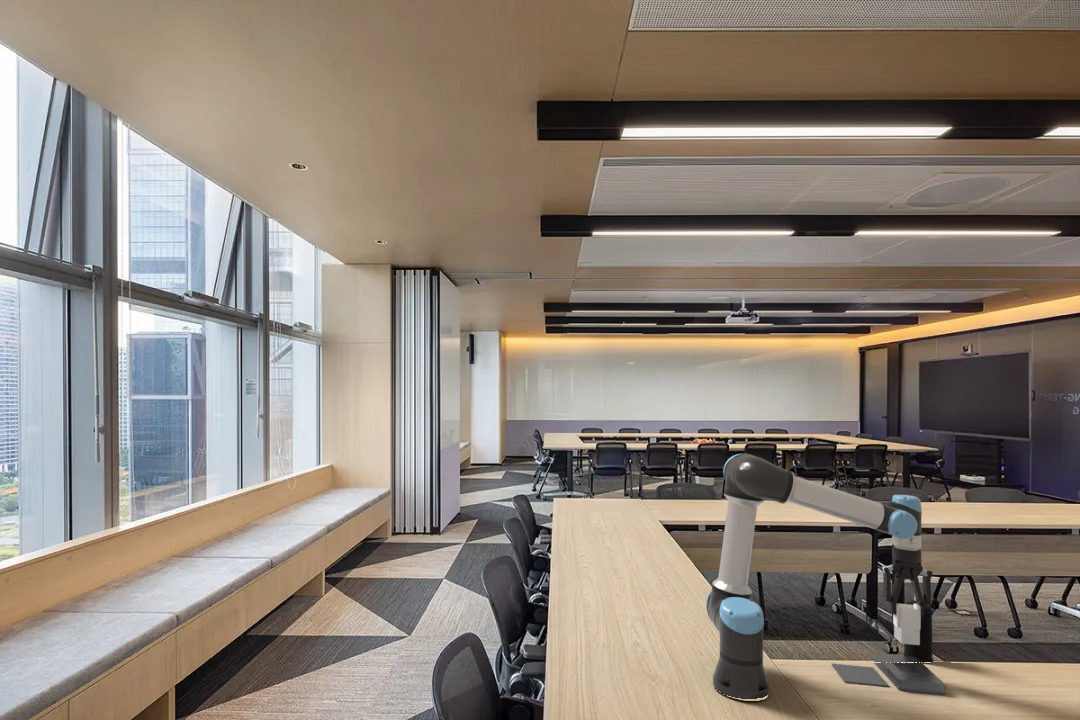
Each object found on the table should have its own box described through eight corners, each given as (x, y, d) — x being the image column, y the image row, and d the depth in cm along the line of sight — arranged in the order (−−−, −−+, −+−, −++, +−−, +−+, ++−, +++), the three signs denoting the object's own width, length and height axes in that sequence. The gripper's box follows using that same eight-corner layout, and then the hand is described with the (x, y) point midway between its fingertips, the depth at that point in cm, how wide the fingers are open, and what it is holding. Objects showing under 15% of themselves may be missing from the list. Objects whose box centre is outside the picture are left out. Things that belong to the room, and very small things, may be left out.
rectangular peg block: (901, 643, 178) (901, 608, 178) (894, 636, 183) (894, 603, 183) (919, 645, 177) (919, 610, 178) (912, 638, 182) (912, 604, 183)
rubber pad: (844, 682, 175) (844, 681, 175) (831, 664, 187) (831, 663, 187) (889, 687, 173) (889, 685, 173) (872, 668, 185) (872, 667, 185)
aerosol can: (919, 664, 189) (918, 599, 190) (897, 653, 197) (896, 591, 198) (939, 662, 191) (939, 598, 192) (917, 651, 199) (916, 590, 200)
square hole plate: (898, 690, 171) (898, 679, 171) (874, 663, 189) (874, 653, 189) (944, 694, 169) (944, 683, 170) (915, 666, 187) (915, 657, 187)
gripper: (879, 548, 179) (879, 628, 178) (945, 552, 176) (946, 634, 175) (869, 542, 187) (869, 619, 185) (933, 546, 184) (933, 624, 182)
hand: (906, 626), depth 180 cm, fingers closed on rectangular peg block, 5 cm apart
